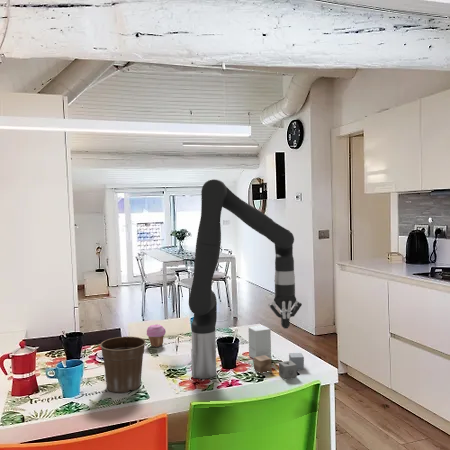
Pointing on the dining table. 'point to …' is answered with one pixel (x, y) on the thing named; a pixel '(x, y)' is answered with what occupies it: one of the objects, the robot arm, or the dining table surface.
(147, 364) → the dining table surface
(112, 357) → the plant pot
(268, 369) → the walnut block
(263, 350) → the supplement box
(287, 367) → the dice cube
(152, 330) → the cupcake
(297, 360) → the slate block
